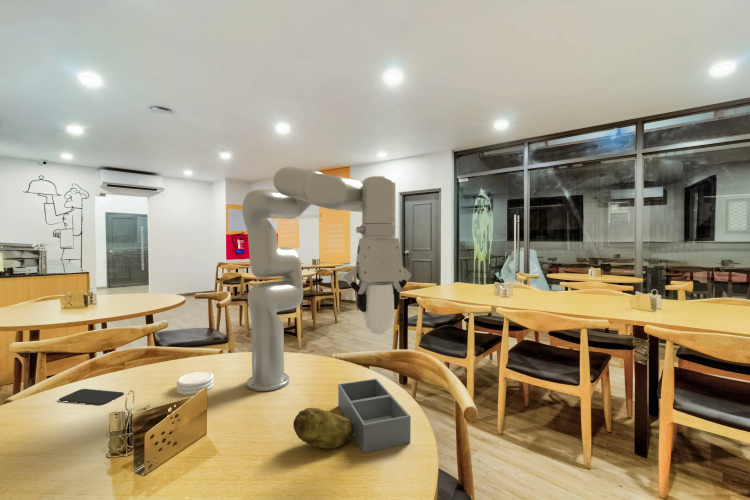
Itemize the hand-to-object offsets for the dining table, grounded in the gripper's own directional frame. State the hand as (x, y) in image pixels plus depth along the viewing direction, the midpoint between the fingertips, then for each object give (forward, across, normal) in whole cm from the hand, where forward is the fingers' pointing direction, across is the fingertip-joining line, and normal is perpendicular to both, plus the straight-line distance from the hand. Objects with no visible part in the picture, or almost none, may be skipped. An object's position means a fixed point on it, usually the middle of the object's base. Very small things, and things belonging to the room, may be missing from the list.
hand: (378, 309), depth 80 cm
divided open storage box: (+29, 0, +5) cm, 30 cm away
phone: (+30, -70, +45) cm, 89 cm away
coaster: (+30, -43, +42) cm, 68 cm away
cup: (+15, 0, 0) cm, 15 cm away
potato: (+30, -13, 0) cm, 32 cm away
